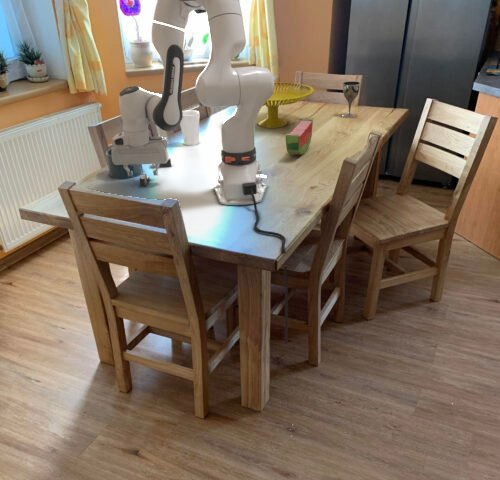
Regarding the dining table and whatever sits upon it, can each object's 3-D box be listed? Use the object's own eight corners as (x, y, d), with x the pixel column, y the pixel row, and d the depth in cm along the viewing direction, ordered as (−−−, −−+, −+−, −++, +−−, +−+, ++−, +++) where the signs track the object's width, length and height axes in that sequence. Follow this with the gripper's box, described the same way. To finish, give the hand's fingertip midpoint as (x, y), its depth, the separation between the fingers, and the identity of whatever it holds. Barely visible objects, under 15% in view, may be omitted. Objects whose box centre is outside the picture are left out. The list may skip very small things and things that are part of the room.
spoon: (147, 186, 190) (146, 178, 188) (138, 187, 190) (137, 179, 189) (150, 178, 197) (149, 171, 195) (141, 179, 197) (140, 171, 195)
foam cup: (177, 145, 231) (173, 114, 223) (188, 139, 237) (185, 109, 229) (194, 147, 227) (191, 116, 219) (205, 141, 233) (203, 111, 226)
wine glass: (338, 115, 262) (340, 82, 253) (351, 112, 264) (353, 80, 255) (346, 118, 256) (349, 85, 247) (360, 116, 258) (363, 83, 250)
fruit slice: (299, 141, 228) (300, 117, 222) (313, 142, 226) (314, 118, 220) (284, 160, 208) (284, 135, 202) (299, 161, 206) (300, 135, 200)
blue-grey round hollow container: (140, 177, 198) (136, 155, 193) (106, 179, 198) (102, 157, 193) (145, 166, 208) (141, 145, 203) (113, 168, 208) (109, 146, 203)
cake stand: (310, 135, 234) (311, 100, 225) (224, 135, 241) (221, 100, 232) (317, 113, 266) (318, 81, 257) (240, 113, 273) (239, 82, 264)
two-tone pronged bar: (171, 164, 209) (170, 157, 207) (170, 167, 207) (169, 159, 205) (151, 165, 209) (150, 158, 207) (150, 168, 207) (149, 160, 205)
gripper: (167, 133, 186) (172, 171, 194) (111, 135, 186) (118, 173, 194) (165, 139, 181) (170, 177, 189) (107, 140, 181) (114, 179, 189)
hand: (143, 175), depth 192 cm, fingers open, 8 cm apart
